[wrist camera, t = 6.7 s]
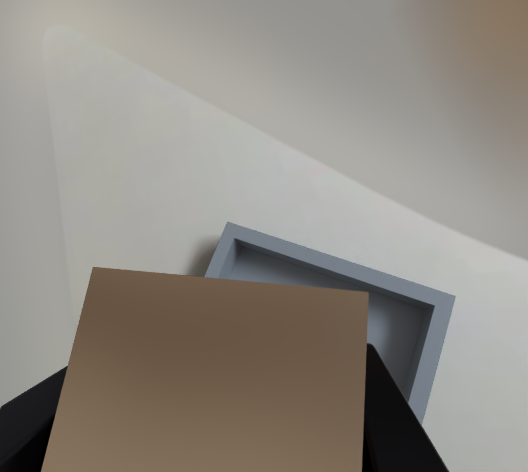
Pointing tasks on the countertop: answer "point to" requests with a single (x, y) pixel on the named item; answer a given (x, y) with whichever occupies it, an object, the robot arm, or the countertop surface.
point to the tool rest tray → (356, 279)
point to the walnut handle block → (212, 377)
